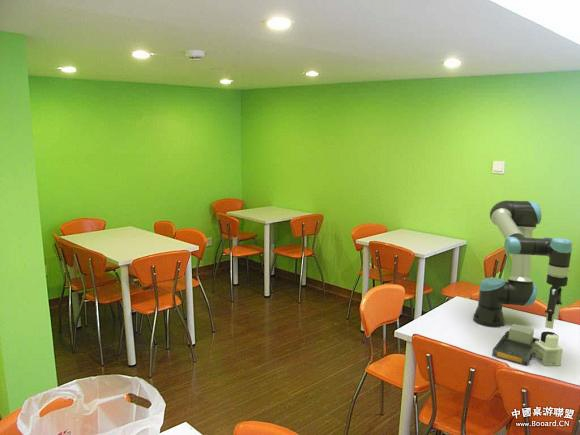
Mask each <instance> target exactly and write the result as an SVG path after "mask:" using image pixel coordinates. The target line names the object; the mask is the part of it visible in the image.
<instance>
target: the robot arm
mask: <svg viewBox="0 0 580 435" xmlns="http://www.w3.org/2000/svg"><path fill="white" fill-rule="evenodd" d="M489 218H490V220H491V222H492V224H493V225H495V226H497V228H498V230H499V231H500V233H501V235H502V237H504V243H503V244H504V245H503V246H504V252H505V253H507V254H511V255H512V257H511V272H510V273H511V274H510V276H509V277H507V281H505V279H503V278H501V277H485V278H484V279H481V281H480V283H479V288H478V289H479V291H478V292H479V293H478V294H479V295H478V301H477V302H478V304H477V307H476V310H475V311H474V313H473V317H472V319H473V321H474V322H475V323H477V324H478V325H481V326H483V327H484V326H485V327H490V328H500V327H504V326H505V317H504V312H503V305H511V306H521V307H525V306H526V307H530V306H532V305H533V304H534V303H535V302H536V300H537V296H538V288H537V286H536V284H535V283H534V280H533V279H532V278H531V261H532V256H542V257H543V256H544V257H547V258H548V264H547V275H546V283H547V284H548V285H550V288H549V295H548V300H547V301H548V302H547V306H546V307H547V308H546V310H544V313H546V315H545V316H546V318H545V324H544V325H545V326H544V327H545V328H546V329H551V330H553V329H554V323H555V322H554V320H557V321H558V320H559V315H560V306H561V305H562V304H563V302H562V300H561V299H562V291H563V290H562V287H567V285H568V281H569V280H568V276H569V272H571V269H570V265H571V264H570V263H571V256H572V252H573V251H572V250H573V249H572V248H573V242H572V241H571V239H566V238H562V237H561V238H559V237H554V238H552V237H548V236H546V237H542V238H541V237H540V238H538V237H537V238H536V237H535V238H534V237H533V231H534V230H535V229H536V228H537V226H538V225H540V223H541V220H542V210H541V207H540V205H539V204H538V203H537V202H536V201H529V200H502V201H499V202H496V203H495V204H494V205H493V206H492V208H491V209H490V211H489Z"/></svg>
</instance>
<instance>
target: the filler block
mask: <svg viewBox="0 0 580 435" xmlns="http://www.w3.org/2000/svg"><path fill="white" fill-rule="evenodd" d="M508 331H509V338H508V339H511V340H515V341H518V342H522V343H526V344H530V345H531V343H532V341H533V337H534V333H535V329H534V328H532V327H527V326H524V325H520V324H515V323H513V324H512V325H511V326H510V327H509V329H508Z"/></svg>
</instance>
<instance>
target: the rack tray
mask: <svg viewBox="0 0 580 435" xmlns="http://www.w3.org/2000/svg"><path fill="white" fill-rule="evenodd" d="M508 338H509V330H507V331H506V332H505V333H504V335H503V336H502V337H501V338H500V340H499V341H498V342H497V344H496V345H495V346H494V347H493V348H492V357H495V358H499V359H501V360H502V359H503V360H505V361H509V362H512V363H516V364H519V365H522V366H527V367H528V365H529V363H530V361H531V360H532V358H533V355H534V347H535V342H536V341H540V340H541V338H537V337H534V336H533V341H532V343H531V345H530V344H526V343H522V342H518V341H515V340H511V339H508Z"/></svg>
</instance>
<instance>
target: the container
mask: <svg viewBox="0 0 580 435" xmlns="http://www.w3.org/2000/svg"><path fill="white" fill-rule="evenodd" d="M540 334H541V335H540V340H539V341H536V342H535V347H534V354H533V356H532V358H533V359H535V361H537V362H538V363H540V364H541V365H543V367H545V366H547V367H548V366H549V367H550V366H556V367H557V366H561V365H562V358H563V357H562V356H563V351H564V350H563V348H562V347H560V346H559V345H558V344H559V338H560V337H559V335H558V334H556V333H555V332H552V331H541V333H540Z"/></svg>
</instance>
